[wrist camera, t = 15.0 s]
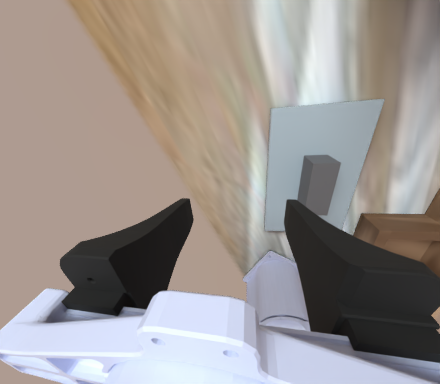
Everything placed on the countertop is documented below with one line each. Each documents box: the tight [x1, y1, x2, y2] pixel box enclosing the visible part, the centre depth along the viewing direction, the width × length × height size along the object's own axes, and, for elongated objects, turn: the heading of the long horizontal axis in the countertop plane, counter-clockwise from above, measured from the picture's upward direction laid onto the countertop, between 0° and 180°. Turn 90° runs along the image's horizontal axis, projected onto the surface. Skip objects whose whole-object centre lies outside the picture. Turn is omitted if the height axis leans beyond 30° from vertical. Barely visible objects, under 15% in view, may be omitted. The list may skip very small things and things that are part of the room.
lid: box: [264, 99, 385, 231], centre depth 19 cm, size 16×10×5 cm, turn 5°
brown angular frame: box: [353, 189, 440, 277], centre depth 21 cm, size 22×10×4 cm, turn 5°
